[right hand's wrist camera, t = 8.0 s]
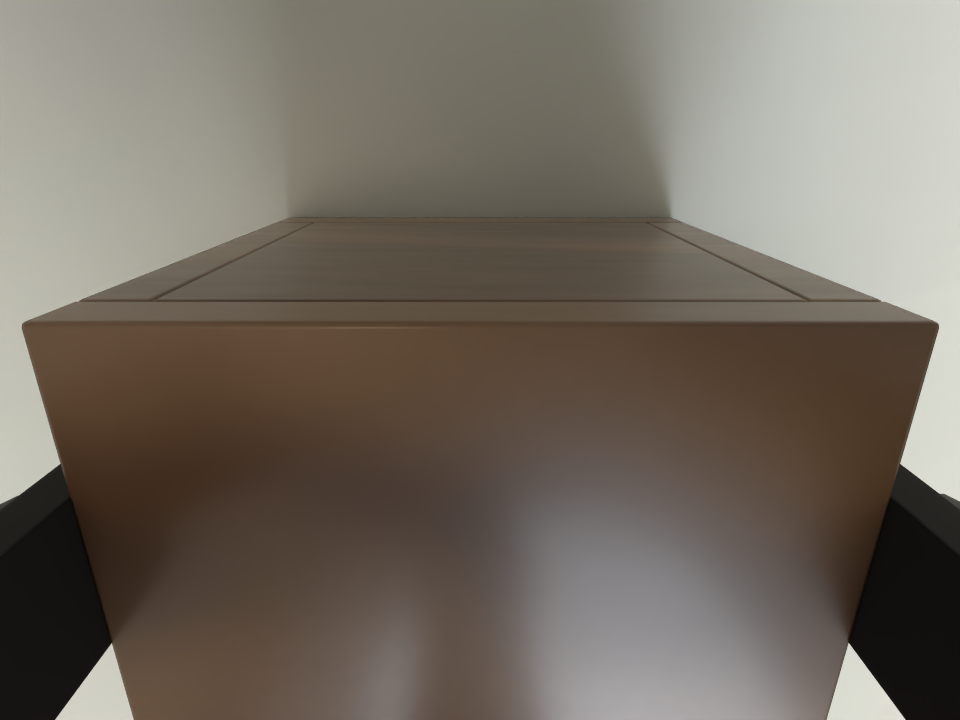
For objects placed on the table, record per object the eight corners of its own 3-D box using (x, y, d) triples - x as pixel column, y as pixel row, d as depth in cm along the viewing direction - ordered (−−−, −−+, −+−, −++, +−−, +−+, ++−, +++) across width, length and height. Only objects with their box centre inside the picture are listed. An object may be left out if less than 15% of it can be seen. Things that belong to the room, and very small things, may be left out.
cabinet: (620, 680, 24) (725, 1077, 14) (339, 680, 24) (234, 1078, 14) (673, 217, 18) (944, 322, 7) (287, 217, 18) (16, 322, 7)
